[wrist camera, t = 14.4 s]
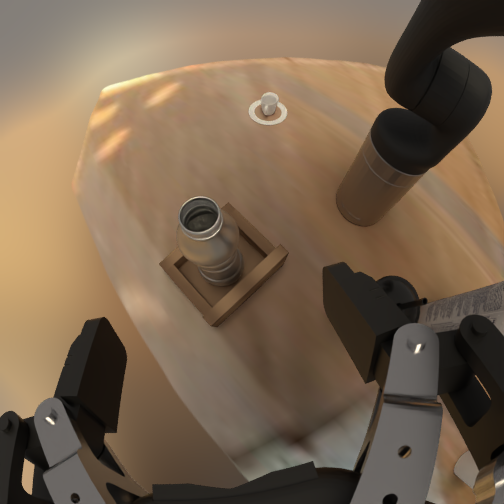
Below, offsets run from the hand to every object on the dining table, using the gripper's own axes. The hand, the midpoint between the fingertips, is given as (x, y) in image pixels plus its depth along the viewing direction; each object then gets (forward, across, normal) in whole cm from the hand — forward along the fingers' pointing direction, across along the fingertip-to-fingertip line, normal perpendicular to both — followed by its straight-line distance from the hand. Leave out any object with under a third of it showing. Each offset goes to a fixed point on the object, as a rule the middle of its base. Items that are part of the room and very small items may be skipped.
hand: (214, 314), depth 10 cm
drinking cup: (+21, -17, +25) cm, 37 cm away
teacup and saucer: (+52, -18, -4) cm, 55 cm away
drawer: (+30, +1, +16) cm, 34 cm away
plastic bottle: (+30, +1, +16) cm, 34 cm away
